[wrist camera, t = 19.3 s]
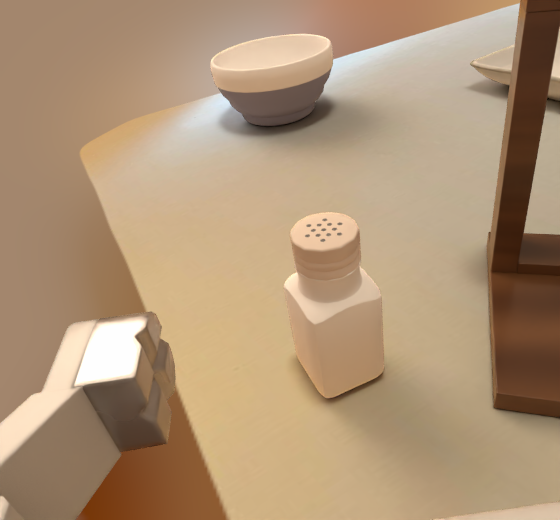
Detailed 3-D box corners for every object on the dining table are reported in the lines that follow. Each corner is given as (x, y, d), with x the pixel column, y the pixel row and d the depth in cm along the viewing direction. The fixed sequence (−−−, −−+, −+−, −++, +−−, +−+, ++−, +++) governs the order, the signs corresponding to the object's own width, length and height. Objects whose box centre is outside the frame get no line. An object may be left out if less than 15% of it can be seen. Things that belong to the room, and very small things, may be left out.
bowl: (358, 114, 58) (354, 47, 54) (242, 149, 55) (228, 80, 51) (308, 85, 69) (302, 27, 65) (210, 112, 66) (196, 53, 62)
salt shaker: (324, 406, 26) (303, 267, 21) (294, 357, 29) (268, 224, 24) (389, 376, 27) (385, 235, 22) (352, 332, 30) (341, 198, 25)
